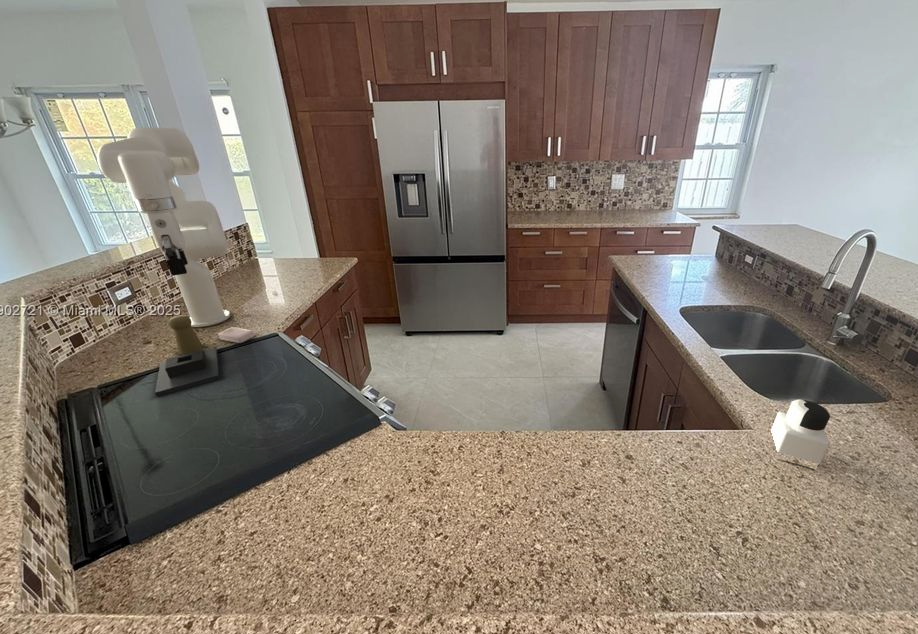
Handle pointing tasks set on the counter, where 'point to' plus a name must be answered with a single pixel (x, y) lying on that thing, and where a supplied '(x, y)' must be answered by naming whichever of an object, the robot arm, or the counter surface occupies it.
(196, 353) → the top pad
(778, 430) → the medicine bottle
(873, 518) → the counter surface
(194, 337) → the cork
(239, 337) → the soap bar
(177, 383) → the base pad
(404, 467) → the counter surface
